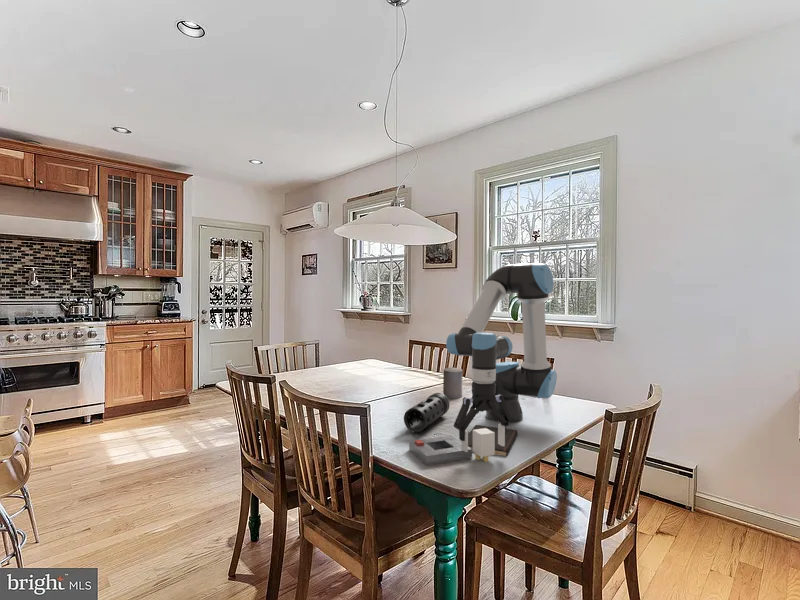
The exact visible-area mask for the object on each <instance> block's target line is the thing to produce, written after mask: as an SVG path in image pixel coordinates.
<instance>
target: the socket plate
mask: <svg viewBox="0 0 800 600" xmlns="http://www.w3.org/2000/svg"><path fill="white" fill-rule="evenodd" d="M408 447H409V448H408V450H409V451H410V453H412V454H413V455H414V456H415V457H416V458H417V459H419V461H421V462H422V464H424V465H425V466H426V467H427V466H428V467H429V466H434V465H440V464H447V463H451V462H459V461H463V460H464V461H465V460H469V459H473V451H472V449H471V448H470V447H468V452H465V451H463V450H462V449H461V440H460V439H458V438H456V437H455V436H453V435H444V436H438V437H431V438H424V439H423V438H422V439H415V440H409V442H408Z"/></svg>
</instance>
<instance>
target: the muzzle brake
mask: <svg viewBox="0 0 800 600" xmlns="http://www.w3.org/2000/svg"><path fill="white" fill-rule="evenodd" d="M450 405H451V404H450V398H447V396H446V395H444V394H443V392H434V393H433V394H431V395H429V396H428V397H427V398H426V399H424V400H422V401H420V402H419V403H417V404H415V405H413V406H412V407H411V408H409V409H407V410H406V411H405V413H404V415H403V422H404V425H405V427H406V428H407V429H408V430H409V431H411V432H413V434H414V435H417V434H419V433H420V432H421V431H423V430H425V429H426V428H427V427H428V426H429V425H431V424H432V423H434V422H436V421H437V420H438V419H439V418H441V417H443V416H444V415H445V414H447V413H448V411H449V409H450Z"/></svg>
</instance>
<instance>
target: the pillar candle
mask: <svg viewBox="0 0 800 600" xmlns="http://www.w3.org/2000/svg"><path fill="white" fill-rule="evenodd" d="M442 377H443V379H442V380H443V385H442V386H443V387H442V388H443V391H442V394H444V395H446V396H447V398H448V399H460V397H461V398H463V369H462V368H458V367H446V368H443V375H442Z"/></svg>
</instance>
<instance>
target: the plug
mask: <svg viewBox="0 0 800 600" xmlns="http://www.w3.org/2000/svg"><path fill="white" fill-rule="evenodd" d="M472 453H475V457H474V458H475V460H481V459H482V461H484V462H485V463H486V462H487V463H488V462H489V457H490V456H495V455H496V454H495V433H494V432H492V431H491V430H489V429H487V428H483V429H475V430H473V451H472Z"/></svg>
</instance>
